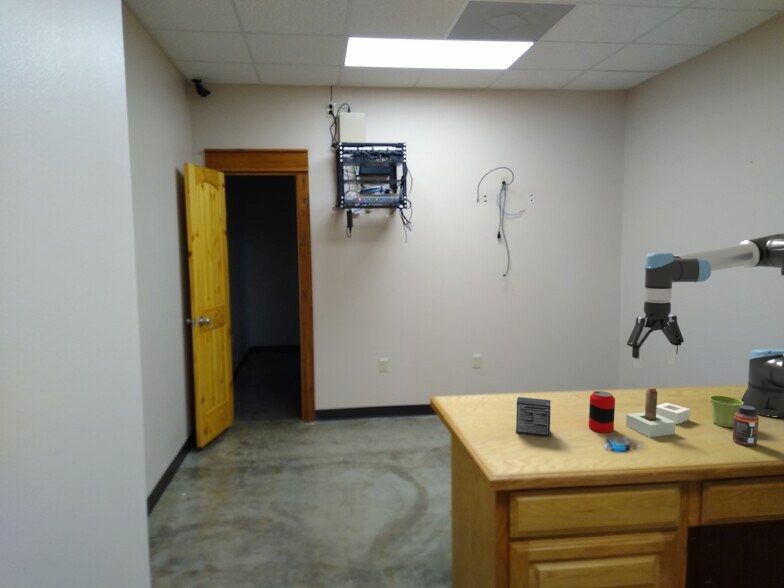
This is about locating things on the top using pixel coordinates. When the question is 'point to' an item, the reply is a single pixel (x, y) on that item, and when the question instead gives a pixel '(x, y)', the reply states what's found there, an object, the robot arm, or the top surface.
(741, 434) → the supplement bottle
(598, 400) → the soda can
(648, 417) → the brown cylinder
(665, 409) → the white hollow block
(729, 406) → the plant pot
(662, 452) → the top surface
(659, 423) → the pale open box
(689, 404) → the top surface
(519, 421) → the small box
